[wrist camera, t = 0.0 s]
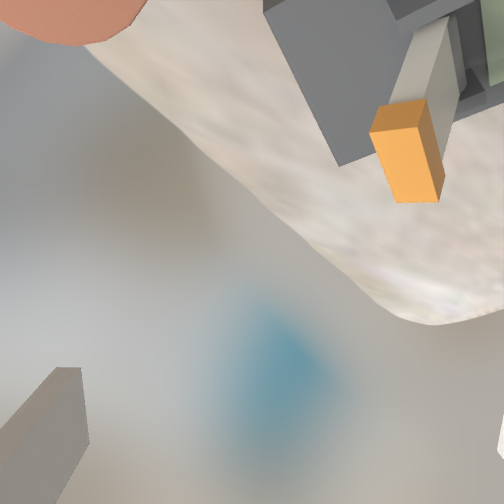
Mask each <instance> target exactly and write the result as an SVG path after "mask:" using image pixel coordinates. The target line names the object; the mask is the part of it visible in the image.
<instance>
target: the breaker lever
mask: <svg viewBox="0 0 504 504" xmlns="http://www.w3.org/2000/svg"><path fill="white" fill-rule="evenodd" d="M412 32H413V38H412V41H411V43H410V46H409V49H408V51H407V54H406V57H405V60H404V62H403V65H402V68H401V71H400V73H399V76H398V79H397V81H396V84H395V87H394V90H393V92H392V95H391V98H390V101H389V103H388V105H383V106H379V108H378V110H377V113H376V115H375V118H374V121H373V123H372V126H371V129H370V131H369V135H370V137H371V140H372V142H373V145H374V147H375V150H376V152H377V155H378V157H379V160H380V163H381V165H382V168H383V170H384V173H385V175H386V178H387V180H388V183H389V186H390V188H391V191H392V193H393V196H394V198H395V201H396V203H418V202H439V199H440V195H441V191H442V187H443V183H444V179H445V172H444V168H443V164H442V160H443V156H444V152H445V148H446V145H447V141H448V137H449V133H450V130H451V126H452V122H453V118H454V115H455V111H456V107H457V103H458V100H459V96H460V93H461V92H463V91H464V89H465V88H466V86H467V81H466V74H465V68H464V62H463V56H462V49H461V43H460V37H459V31H458V25H457V18H456V13H455V11H452V12H450V13H448V14H446V15H444V16H442V17H440V18H438V19H436V20H434V21H432V22H430V23H428V24H426V25H424V26H422V27H420V28H418V29H416V30H414V31H412Z"/></svg>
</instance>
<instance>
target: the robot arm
mask: <svg viewBox="0 0 504 504" xmlns="http://www.w3.org/2000/svg"><path fill="white" fill-rule="evenodd" d="M88 445H89V434H88V426H87V417H86V409H85V400H84V391H83V382H82V373H81V368H68V367H67V368H66V367H65V368H63V367H62V368H61V367H56V368H55V369H54V370H53V371H52V373H51V374H50V375H49V376H48V377H47V378H46V379H45V380H44V381H43V382H42V384H41V385H40V386H39V387H38V388H37V389H36V390H35V391H34V393H33V394H32V395H31V396H30V397H29V398H28V399H27V400H26V401H25V403H24V404H23V405H22V406H21V407H20V408H19V409H18V410H17V411H16V412H15V414H14V415H13V416H12V417H11V418H10V419H9V420H8V421H7V422H6V424H5V425H4V426H3V427H2V428H1V429H0V504H55V503H56V502H57V500H58V498H59V497H60V495H61V493H62V491H63V489H64V488H65V486H66V484H67V482H68V481H69V479H70V477H71V475H72V474H73V472H74V470H75V468H76V466H77V465H78V463H79V461H80V459H81V458H82V456H83V454H84V452H85V451H86V449H87V447H88ZM497 451H498V452H499V454H500V455H501V456H502V458H503V459H504V416H503V422H502V427H501V432H500V438H499V443H498V448H497Z"/></svg>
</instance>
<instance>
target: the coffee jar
mask: <svg viewBox="0 0 504 504" xmlns="http://www.w3.org/2000/svg"><path fill="white" fill-rule="evenodd" d="M146 2H147V0H0V20H1V21H2V22H4V23H5V24H7V25H8V26H9V27H11V28H13V29H16V30H18V31H21V32H23V33H25V34H28V35H30V36H32V37H35V38H37V39H39V40H41V41H44V42H50V43H57V44H64V45H71V46H81V45H86V44H91V43H97V42H102V41H106V40H108V39H109V38H111V37H113V36H114V35H116V34H117V33H119V32H120V31H122V30H124V29H125V28H127V27H128V26H130V25H131V23H132V22H133V21H134V19H135V18H136V16H137V15H138V13H139V12H140V11H141V9H142V8H143V6H144V5H145V3H146Z"/></svg>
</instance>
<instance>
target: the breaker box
mask: <svg viewBox="0 0 504 504" xmlns="http://www.w3.org/2000/svg"><path fill="white" fill-rule="evenodd" d="M452 11H455V13H456V18H457V25H458V31H459V37H460V43H461V49H462V56H463V62H464V68H465V74H466V81H467V86H466V88H465V89H464V91H463V92H461V93H460V96H459V100H458V103H457V107H456V111H455V115H454V118H453V122H455V121H458V120H460V119H463V118H465V117H468V116H471V115H473V114H476V113H478V112H481V111H483V110H486V109H488V108H491V107H494V106H496V105H499V104H501V103H504V0H263V14H264V16H265V18H266V20H267V22H268V24H269V26H270V28H271V30H272V32H273V34H274V36H275V38H276V40H277V42H278V44H279V46H280V48H281V50H282V52H283V55H284V57H285V59H286V61H287V63H288V65H289V67H290V69H291V71H292V73H293V75H294V77H295V79H296V81H297V83H298V85H299V87H300V89H301V91H302V93H303V95H304V97H305V99H306V101H307V103H308V105H309V107H310V109H311V111H312V113H313V115H314V117H315V119H316V121H317V123H318V125H319V128H320V130H321V132H322V134H323V136H324V138H325V140H326V142H327V144H328V146H329V148H330V150H331V152H332V154H333V156H334V158H335V160H336V162H337V164H338V166H339V167H340V166H343V165H345V164H348V163H350V162H353V161H355V160H358V159H361V158H363V157H366V156H368V155H371V154H373V153H376V150H375V147H374V145H373V142H372V140H371V137H370V135H369V131H370V129H371V126H372V123H373V121H374V118H375V115H376V113H377V110H378V108H379V106H383V105H388V103H389V101H390V98H391V95H392V92H393V90H394V87H395V84H396V81H397V79H398V76H399V73H400V71H401V68H402V65H403V62H404V60H405V57H406V54H407V51H408V49H409V46H410V43H411V41H412V38H413V32H412V31H414V30H416V29H418V28H420V27H422V26H424V25H426V24H428V23H430V22H432V21H434V20H436V19H438V18H440V17H442V16H444V15H446V14H448V13H450V12H452ZM453 122H452V123H453Z"/></svg>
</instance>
